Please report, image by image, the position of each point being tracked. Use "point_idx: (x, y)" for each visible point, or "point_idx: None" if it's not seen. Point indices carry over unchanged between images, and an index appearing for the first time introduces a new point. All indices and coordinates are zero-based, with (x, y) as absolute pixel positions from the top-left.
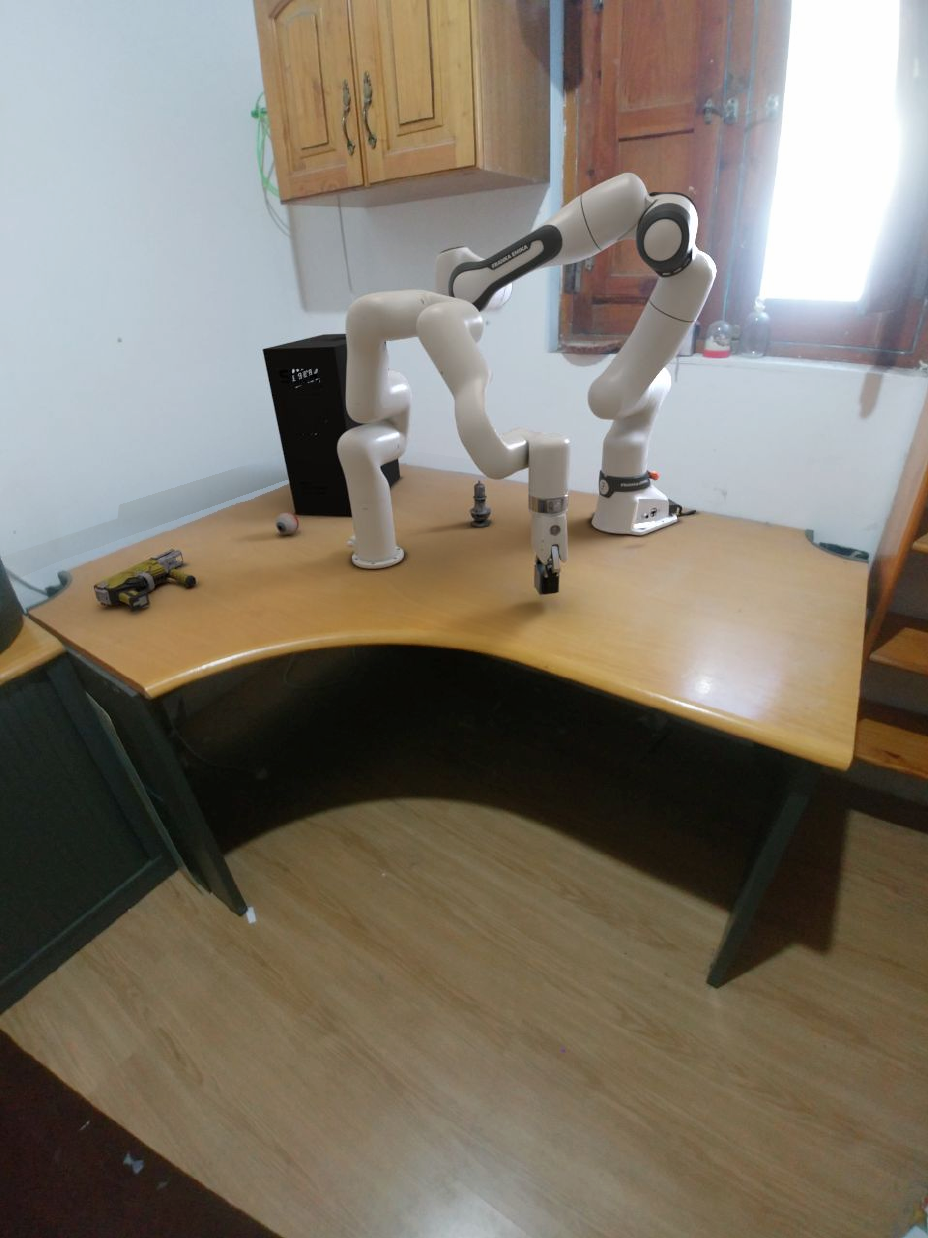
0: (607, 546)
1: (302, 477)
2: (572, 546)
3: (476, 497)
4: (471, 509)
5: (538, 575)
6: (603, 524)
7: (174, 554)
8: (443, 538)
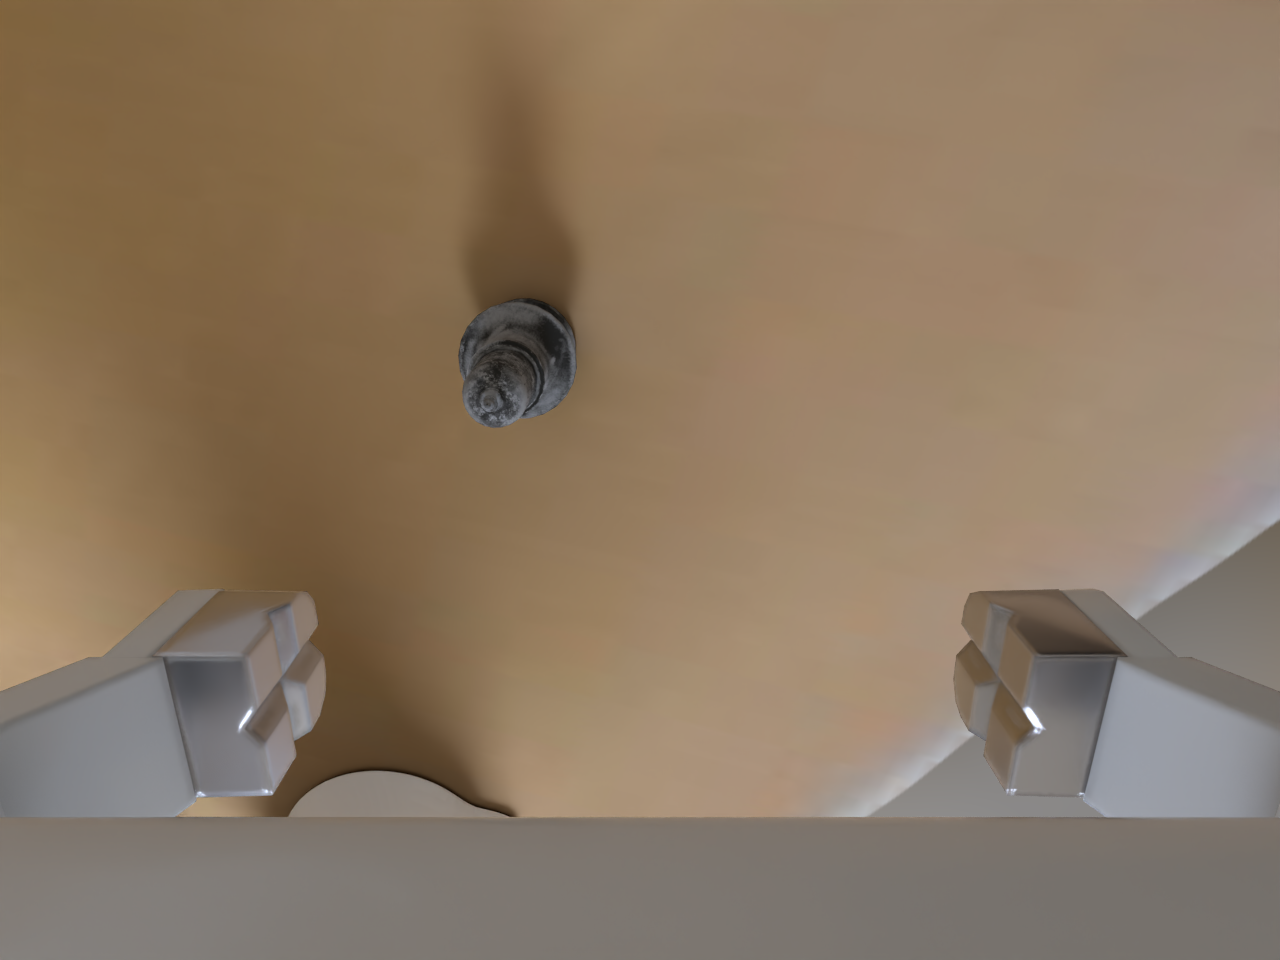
0: None
1: None
2: None
3: (482, 357)
4: (542, 317)
5: None
6: (318, 804)
7: None
8: (367, 117)
